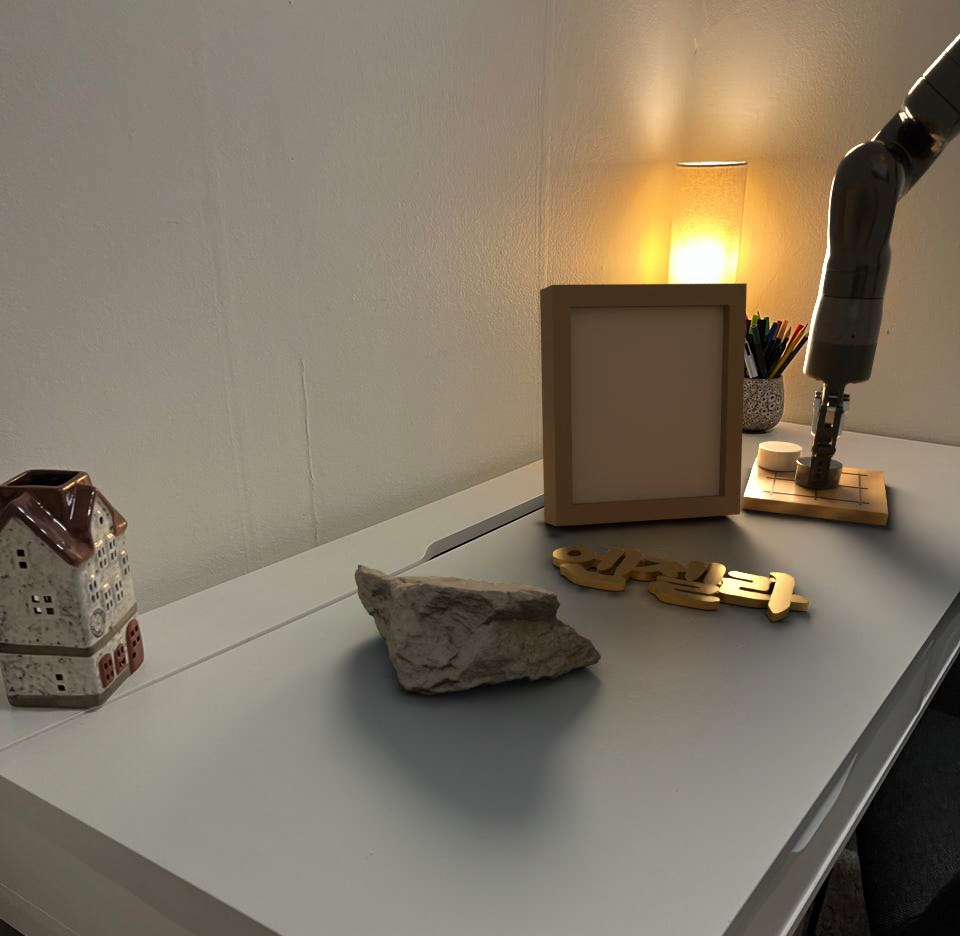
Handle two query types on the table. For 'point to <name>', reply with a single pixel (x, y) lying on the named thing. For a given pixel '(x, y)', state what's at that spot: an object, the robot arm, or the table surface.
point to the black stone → (804, 468)
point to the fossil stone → (469, 631)
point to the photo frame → (642, 401)
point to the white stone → (778, 455)
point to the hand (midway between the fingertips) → (817, 478)
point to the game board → (820, 496)
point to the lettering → (680, 580)
